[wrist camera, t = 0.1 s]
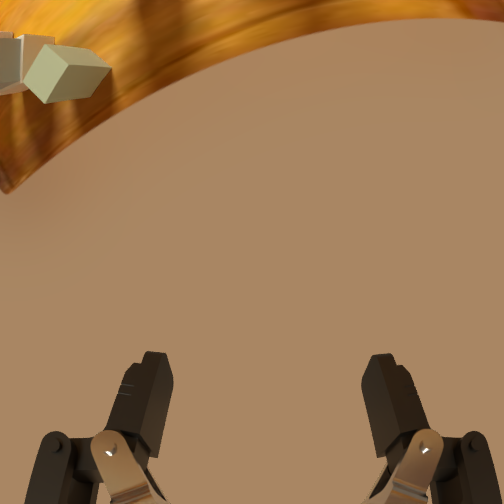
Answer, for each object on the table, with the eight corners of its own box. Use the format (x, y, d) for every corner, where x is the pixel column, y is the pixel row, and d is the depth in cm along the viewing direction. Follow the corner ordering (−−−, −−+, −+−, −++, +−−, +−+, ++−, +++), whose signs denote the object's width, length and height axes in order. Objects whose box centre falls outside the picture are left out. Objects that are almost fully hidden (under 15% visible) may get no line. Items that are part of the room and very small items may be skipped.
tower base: (22, 51, 26) (-8, 52, 20) (54, 37, 26) (24, 33, 20) (22, 91, 29) (-9, 97, 23) (53, 80, 29) (22, 83, 23)
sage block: (69, 78, 29) (22, 81, 21) (89, 49, 27) (44, 43, 19) (90, 97, 31) (44, 103, 22) (111, 67, 29) (68, 64, 20)
